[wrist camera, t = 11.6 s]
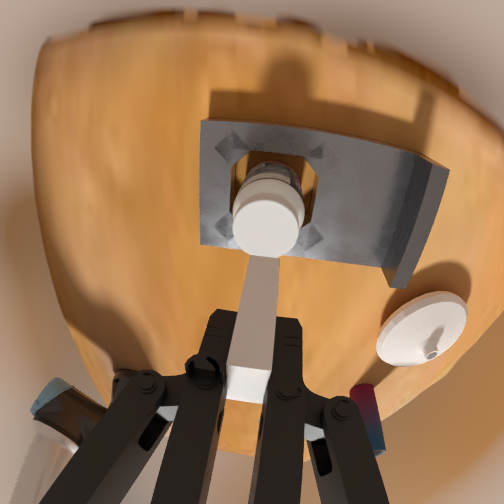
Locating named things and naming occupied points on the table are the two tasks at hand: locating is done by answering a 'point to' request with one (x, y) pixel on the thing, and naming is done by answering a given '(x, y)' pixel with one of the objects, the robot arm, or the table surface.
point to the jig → (330, 193)
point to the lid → (422, 329)
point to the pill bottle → (268, 210)
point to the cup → (369, 415)
